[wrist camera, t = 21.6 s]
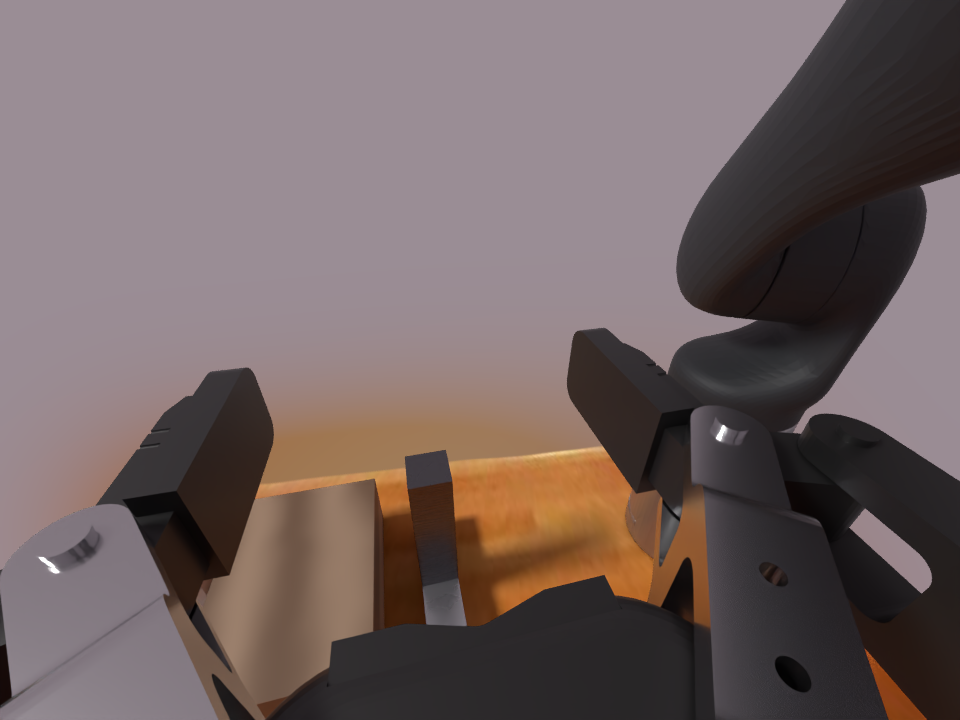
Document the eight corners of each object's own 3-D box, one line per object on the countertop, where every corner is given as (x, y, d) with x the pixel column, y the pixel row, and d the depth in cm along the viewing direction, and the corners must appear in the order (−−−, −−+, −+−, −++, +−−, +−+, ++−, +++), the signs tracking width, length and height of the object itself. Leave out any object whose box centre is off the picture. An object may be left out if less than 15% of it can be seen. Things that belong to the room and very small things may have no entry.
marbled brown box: (383, 517, 41) (374, 478, 37) (385, 708, 27) (372, 673, 24) (260, 540, 38) (240, 501, 35) (198, 761, 25) (157, 730, 22)
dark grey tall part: (446, 523, 40) (437, 411, 32) (469, 655, 30) (465, 541, 22) (417, 529, 40) (401, 417, 32) (431, 665, 30) (412, 552, 22)
